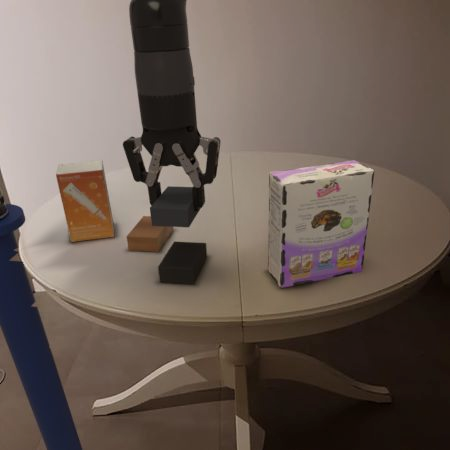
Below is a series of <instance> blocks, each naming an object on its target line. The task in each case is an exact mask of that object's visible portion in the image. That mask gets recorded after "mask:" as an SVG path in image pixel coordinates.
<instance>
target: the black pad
mask: <svg viewBox="0 0 450 450" xmlns="http://www.w3.org/2000/svg"><path fill="white" fill-rule="evenodd" d="M207 259H208V251H207V243H206V242H196V241H195V242H194V241H193V242H191V241H173V243H172V244H171V246H170V247H169V249H168V250H167V252H166V254H165V255H164V256H163V258H162V260H161V261H160V263H159V265H158V267H157V270H158V276H159V283H162V284H163V283H164V284H178V285H179V284H180V285H192V286H193V285H196V282H197V280H198V278H199V276H200V273H201V272H202V269H203V267H204V265H205V263H206V261H207Z"/></svg>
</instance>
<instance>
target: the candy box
mask: <svg viewBox="0 0 450 450" xmlns="http://www.w3.org/2000/svg"><path fill="white" fill-rule="evenodd" d="M374 178H375V170H374V169H372V168H370V167H369V166H367V165H365V164H362V163H361V162H359V161H358V160H355V159H353V160H347V161H341V162H334V163H327V164H320V165H312V166H307V167H299V168H292V169H284V170H277V171H269V173H268V251H267V252H268V259H267V260H268V263H267V268H268V272H269V274H270V276H271V278H272V279H273V280H274V281H275V283H276V284H277V286H278V287H279V288H283V289H284V288H289V287H295V286H299V285H303V284H310V283H314V282H319V281H325V280H328V279H333V278H334V279H335V278H339V277H342V276H347V275H354V274H357V273H362V272H363V269H364V260H365V251H366V242H367V236H368V235H367V234H368V228H369V227H368V226H369V218H370V211H371V203H372V196H373V195H372V193H373V186H374Z"/></svg>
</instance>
